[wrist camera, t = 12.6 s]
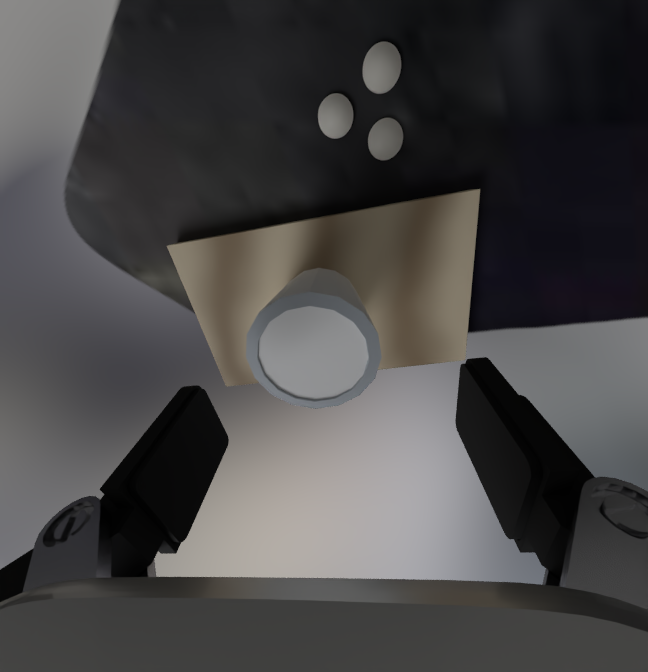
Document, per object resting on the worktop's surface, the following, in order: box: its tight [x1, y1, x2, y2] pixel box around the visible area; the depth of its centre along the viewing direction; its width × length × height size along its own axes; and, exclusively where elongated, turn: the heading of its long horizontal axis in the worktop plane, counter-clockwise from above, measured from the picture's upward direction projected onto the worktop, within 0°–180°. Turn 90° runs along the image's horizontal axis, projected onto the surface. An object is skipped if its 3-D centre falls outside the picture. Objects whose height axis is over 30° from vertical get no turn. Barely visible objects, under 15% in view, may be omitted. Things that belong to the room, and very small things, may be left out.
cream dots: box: [318, 42, 403, 160], centre depth 15 cm, size 5×5×1 cm
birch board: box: [167, 189, 480, 386], centre depth 20 cm, size 20×12×1 cm, turn 100°
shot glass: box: [246, 268, 382, 409], centre depth 16 cm, size 7×7×7 cm
